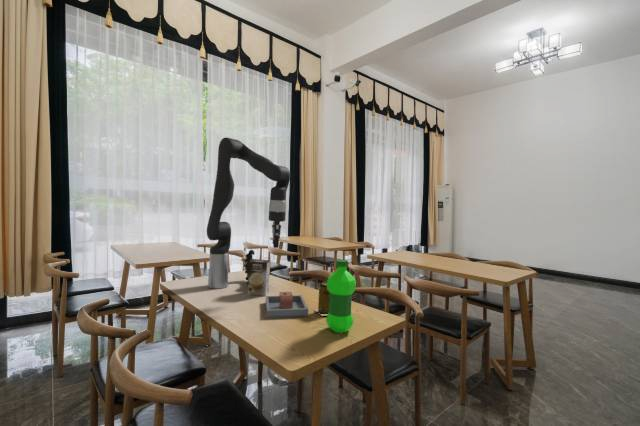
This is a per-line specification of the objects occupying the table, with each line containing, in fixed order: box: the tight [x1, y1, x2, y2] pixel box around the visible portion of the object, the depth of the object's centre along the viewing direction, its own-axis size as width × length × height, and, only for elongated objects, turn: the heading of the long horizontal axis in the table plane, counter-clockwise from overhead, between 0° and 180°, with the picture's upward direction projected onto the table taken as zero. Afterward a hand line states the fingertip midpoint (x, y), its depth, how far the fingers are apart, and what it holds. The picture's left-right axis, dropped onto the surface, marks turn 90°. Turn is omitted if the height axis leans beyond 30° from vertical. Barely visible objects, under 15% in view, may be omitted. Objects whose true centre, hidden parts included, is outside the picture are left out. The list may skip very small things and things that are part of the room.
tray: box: [265, 294, 309, 319], centre depth 129 cm, size 16×18×3 cm
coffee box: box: [247, 258, 271, 297], centre depth 149 cm, size 9×6×16 cm
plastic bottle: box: [325, 259, 357, 333], centre depth 110 cm, size 10×10×25 cm
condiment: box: [313, 281, 330, 318], centre depth 126 cm, size 7×8×12 cm
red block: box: [278, 291, 294, 309], centre depth 129 cm, size 5×5×6 cm
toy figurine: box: [244, 249, 270, 284], centre depth 163 cm, size 9×19×25 cm
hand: (275, 246), depth 140 cm, fingers open, 8 cm apart
